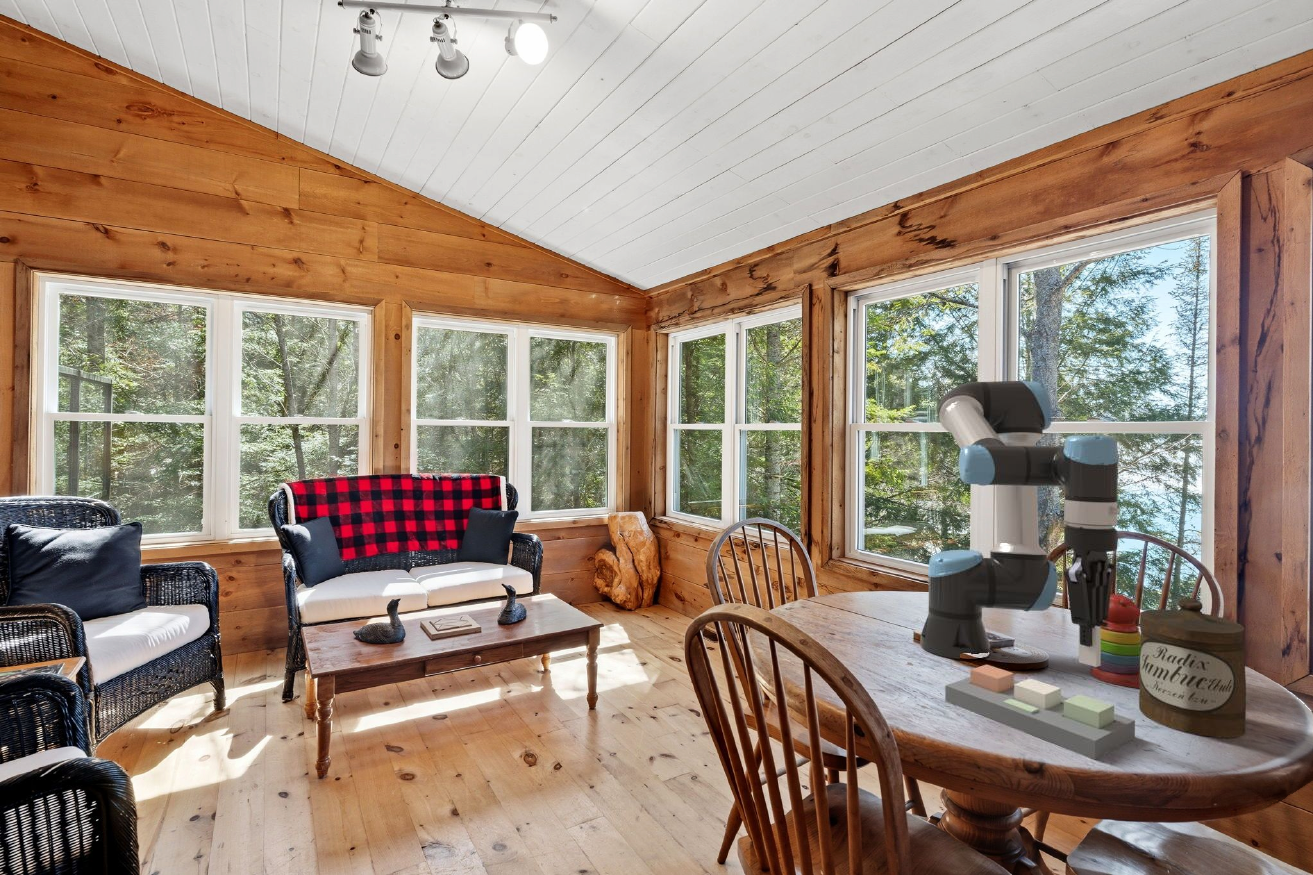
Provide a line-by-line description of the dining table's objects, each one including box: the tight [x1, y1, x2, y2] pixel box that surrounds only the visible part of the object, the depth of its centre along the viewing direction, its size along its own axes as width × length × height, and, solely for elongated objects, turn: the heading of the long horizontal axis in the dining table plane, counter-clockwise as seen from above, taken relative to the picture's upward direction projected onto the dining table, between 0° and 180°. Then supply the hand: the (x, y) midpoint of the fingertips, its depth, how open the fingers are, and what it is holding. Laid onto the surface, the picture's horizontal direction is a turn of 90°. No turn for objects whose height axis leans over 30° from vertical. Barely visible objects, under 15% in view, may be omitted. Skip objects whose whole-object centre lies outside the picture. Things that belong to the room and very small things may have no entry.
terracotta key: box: [970, 664, 1015, 693], centre depth 124 cm, size 5×5×3 cm
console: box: [944, 676, 1136, 760], centre depth 116 cm, size 26×14×3 cm, turn 32°
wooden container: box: [1138, 597, 1247, 739], centre depth 116 cm, size 15×15×22 cm
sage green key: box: [1064, 694, 1115, 729], centre depth 109 cm, size 5×5×3 cm
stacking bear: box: [1090, 592, 1141, 689], centre depth 135 cm, size 11×10×18 cm
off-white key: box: [1014, 678, 1062, 710], centre depth 117 cm, size 5×5×3 cm
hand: (1089, 663), depth 109 cm, fingers closed
